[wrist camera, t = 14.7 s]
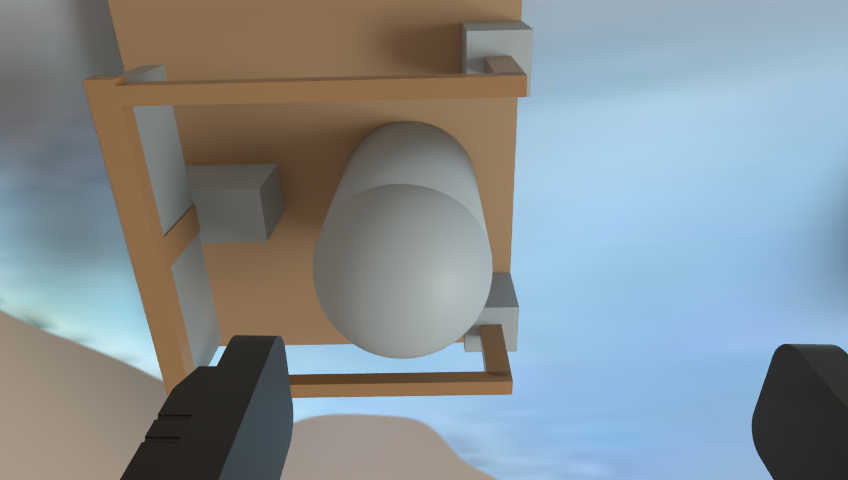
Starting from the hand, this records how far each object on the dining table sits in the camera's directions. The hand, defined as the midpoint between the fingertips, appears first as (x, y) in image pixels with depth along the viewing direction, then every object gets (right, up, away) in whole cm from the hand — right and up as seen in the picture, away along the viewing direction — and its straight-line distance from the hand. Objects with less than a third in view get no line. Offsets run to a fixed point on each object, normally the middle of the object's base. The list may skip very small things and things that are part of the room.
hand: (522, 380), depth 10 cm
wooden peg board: (-7, +7, +27) cm, 29 cm away
